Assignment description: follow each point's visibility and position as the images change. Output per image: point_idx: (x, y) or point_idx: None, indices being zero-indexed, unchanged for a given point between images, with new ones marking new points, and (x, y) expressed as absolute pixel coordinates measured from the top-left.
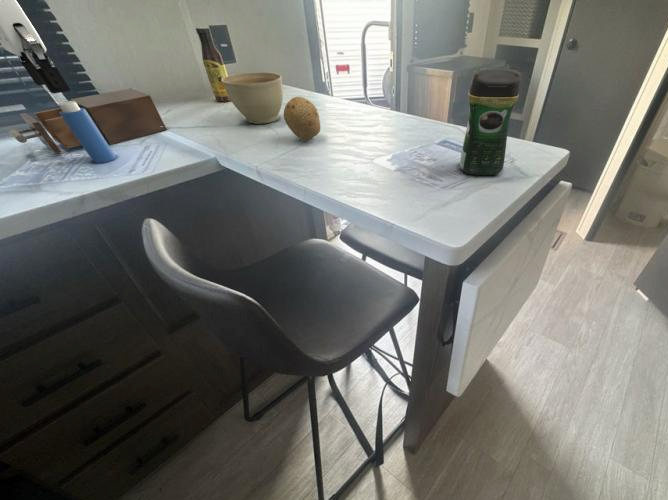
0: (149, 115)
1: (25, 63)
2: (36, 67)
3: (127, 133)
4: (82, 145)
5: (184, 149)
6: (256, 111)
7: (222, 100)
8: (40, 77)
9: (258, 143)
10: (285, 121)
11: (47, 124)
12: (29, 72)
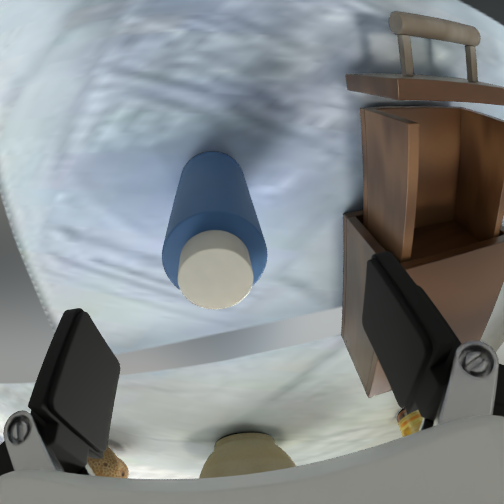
0: (355, 349)
1: (423, 355)
2: (31, 420)
3: (348, 272)
4: (199, 168)
5: (157, 343)
6: (209, 459)
7: (404, 410)
8: (53, 367)
9: (119, 417)
10: (98, 461)
11: (483, 125)
12: (401, 303)
